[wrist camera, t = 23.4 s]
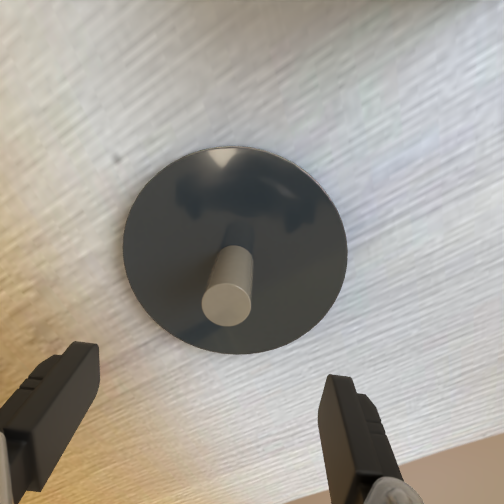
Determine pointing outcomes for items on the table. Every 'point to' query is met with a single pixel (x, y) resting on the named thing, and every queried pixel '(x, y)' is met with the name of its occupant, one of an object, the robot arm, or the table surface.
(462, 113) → the table surface
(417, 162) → the table surface
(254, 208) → the pot lid
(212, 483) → the table surface
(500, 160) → the table surface
